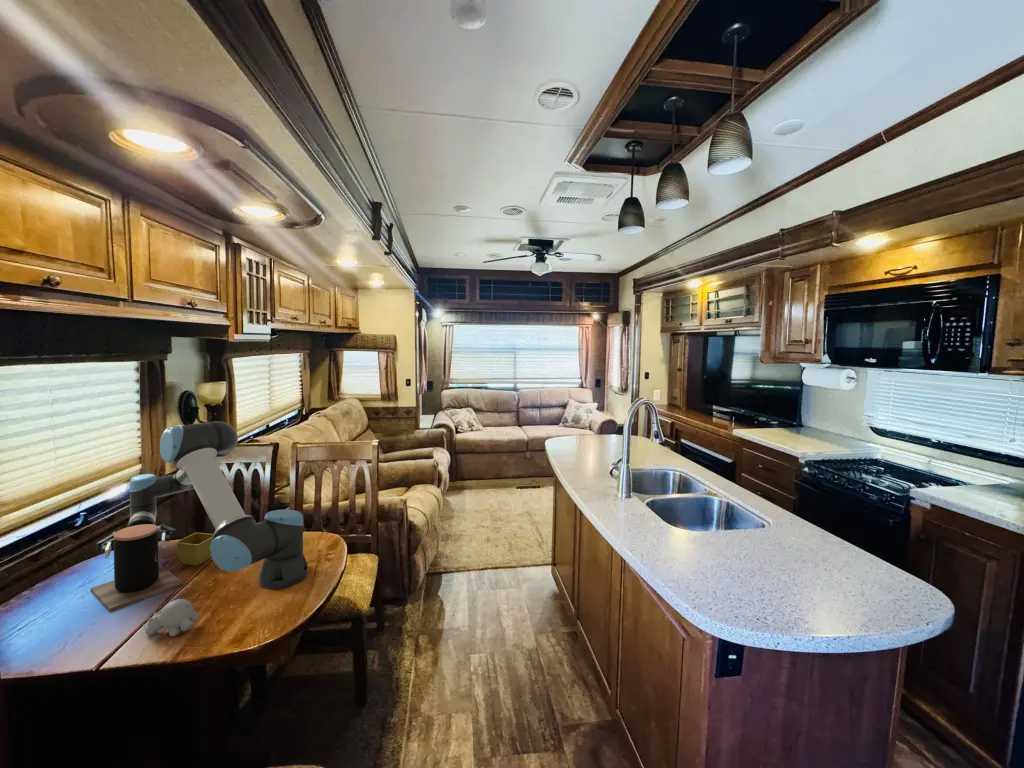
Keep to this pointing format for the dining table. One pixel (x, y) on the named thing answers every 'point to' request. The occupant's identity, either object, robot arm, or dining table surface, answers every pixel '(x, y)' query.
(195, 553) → the flower pot
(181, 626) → the chubby cartoon animal
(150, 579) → the coffee jar
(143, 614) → the dining table surface
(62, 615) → the dining table surface
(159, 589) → the walnut board
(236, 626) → the dining table surface
